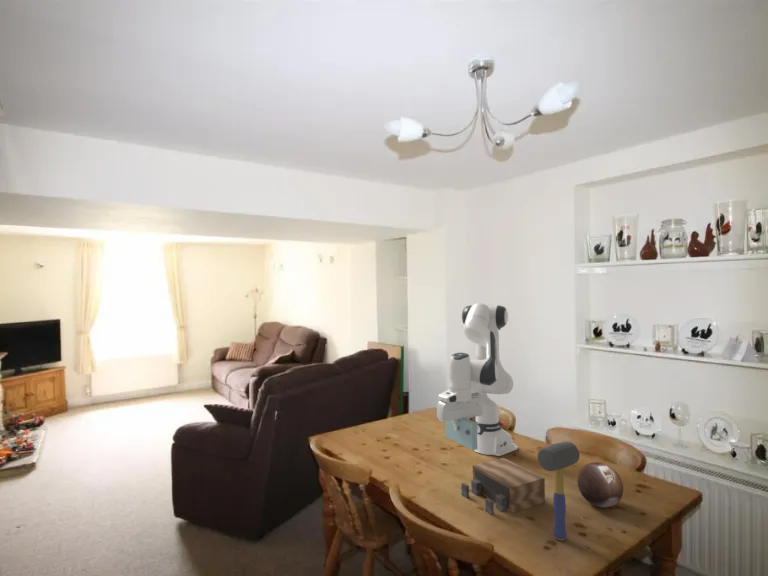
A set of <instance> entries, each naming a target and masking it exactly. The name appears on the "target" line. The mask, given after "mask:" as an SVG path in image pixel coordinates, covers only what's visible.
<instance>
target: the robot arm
mask: <svg viewBox="0 0 768 576" xmlns="http://www.w3.org/2000/svg"><path fill="white" fill-rule="evenodd" d="M461 320H462V323H463V324H464V325H463V333H464V335H465V337H466V338H467V339H468V340H470V342H472V343H474V344H475V345H476V346H475V356H476V359H471V356H470V355H469V353H466V352H456V353H453V354H451V355H450V359H449V365H448V378H449V384H448V389H447V390H445V391H443V392H441V393H439V394H438V396H437V399H438V400H439V401H438V402H437V406H436V419H438V420H439V421H440V422H442V423H443V422H444V423H445V421H451V422H452V423H453V425H454V430H455V431H458V430H459V426H458V425H457V424H456V422H457V419H462V418H467V419H469V420H470V417H475V419H474V422H476V423H477V449H476V450H473V451H474V452H476V453H478V454H482V455H486V456H487V455H488V456H497V457H501V456H504V455H506V454H508V453H512V452H514V451H516V450H518V449H519V446H517V444H515V443H513V442H514V441H513V437H512V435H511V434H510V433H509V432H507V431H506V430H504V428H502V427H505V426H506V422H505V421H500V420H499V406H498V404H497V403H496V402H495V401H494V400H492V399H491V398H490V396H488V394H490V395H491V394H493V395H507V394H510V393H511V392H512V390H513V389H514V379H513V377H512V376H511V374H509V373H508V371H506V370H505V368H504V367H503V365H502V363H501V360H500V335H499V331H501V329H502V328H504V327H505V326H506V325H507V324H508V323H507V322H508V320H509V312H508V310H507V308H506V306H502V305H499V304H498V305H494V304H485V303H483V302H476V303H474V304H473V305H467V306H465V307H464V308H463V309H462V311H461Z"/></svg>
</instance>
